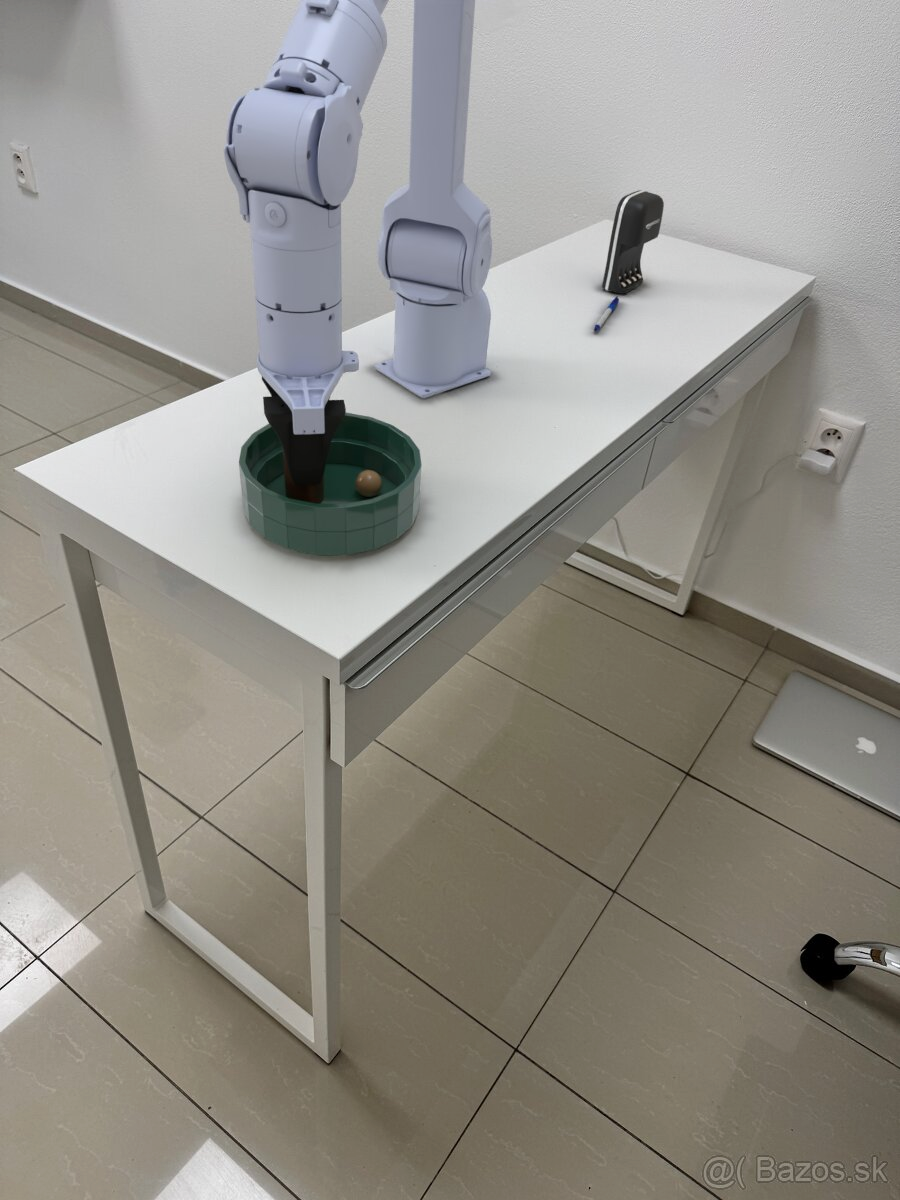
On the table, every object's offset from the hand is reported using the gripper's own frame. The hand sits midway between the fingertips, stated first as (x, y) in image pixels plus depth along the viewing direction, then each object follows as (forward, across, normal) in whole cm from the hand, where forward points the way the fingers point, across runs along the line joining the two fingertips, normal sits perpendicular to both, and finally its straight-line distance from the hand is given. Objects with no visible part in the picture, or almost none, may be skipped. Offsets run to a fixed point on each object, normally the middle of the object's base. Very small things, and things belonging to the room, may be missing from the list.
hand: (305, 469), depth 67 cm
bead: (+3, +2, -5) cm, 6 cm away
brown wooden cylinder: (+3, 0, 0) cm, 3 cm away
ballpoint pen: (+5, +38, -38) cm, 55 cm away
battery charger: (+5, +48, -44) cm, 65 cm away
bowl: (+5, +1, -2) cm, 5 cm away
